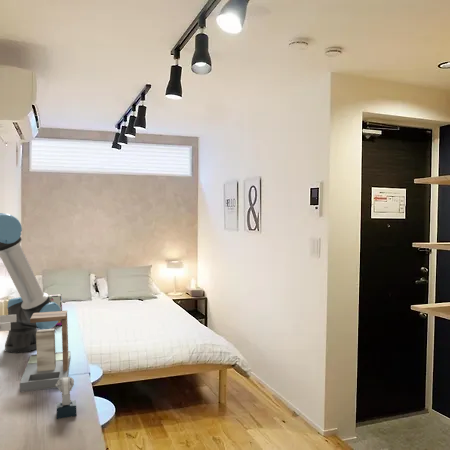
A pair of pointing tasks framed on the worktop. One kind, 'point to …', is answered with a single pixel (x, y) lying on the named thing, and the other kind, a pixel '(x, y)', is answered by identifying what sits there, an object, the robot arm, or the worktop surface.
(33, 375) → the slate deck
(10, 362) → the worktop surface
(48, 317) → the walnut tunnel
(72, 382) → the watch
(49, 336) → the cream block
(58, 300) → the candy bar box
